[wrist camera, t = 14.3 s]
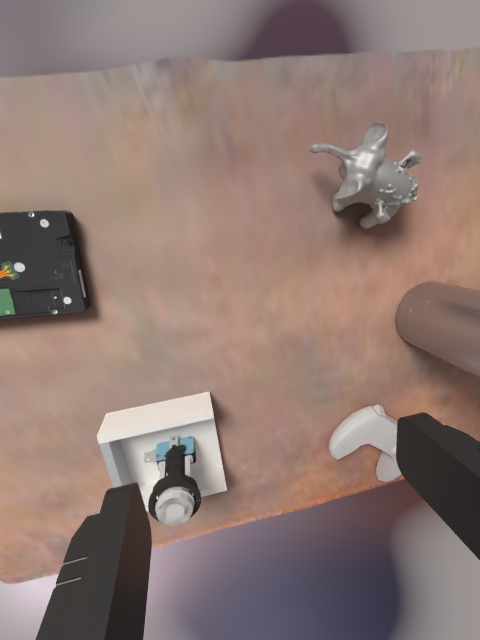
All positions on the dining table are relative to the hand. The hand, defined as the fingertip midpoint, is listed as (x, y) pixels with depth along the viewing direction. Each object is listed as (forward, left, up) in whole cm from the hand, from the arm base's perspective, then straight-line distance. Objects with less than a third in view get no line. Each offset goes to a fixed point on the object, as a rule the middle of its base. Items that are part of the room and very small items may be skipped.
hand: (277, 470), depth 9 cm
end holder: (+8, +19, -28) cm, 35 cm away
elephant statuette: (-18, -10, -28) cm, 35 cm away
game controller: (-22, +27, -29) cm, 45 cm away
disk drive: (+20, -6, -29) cm, 35 cm away
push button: (+8, +19, -27) cm, 34 cm away
